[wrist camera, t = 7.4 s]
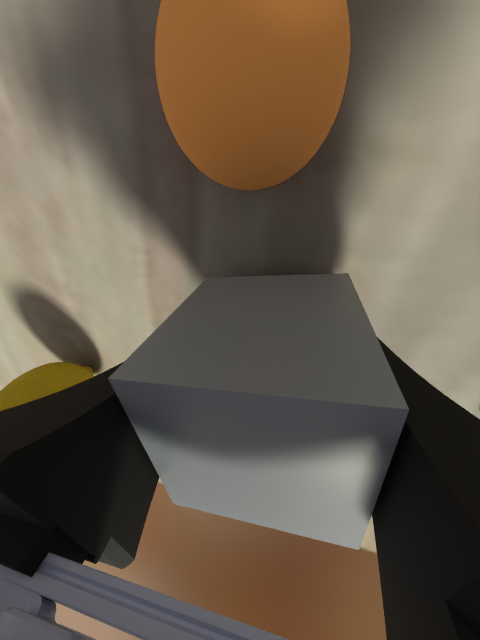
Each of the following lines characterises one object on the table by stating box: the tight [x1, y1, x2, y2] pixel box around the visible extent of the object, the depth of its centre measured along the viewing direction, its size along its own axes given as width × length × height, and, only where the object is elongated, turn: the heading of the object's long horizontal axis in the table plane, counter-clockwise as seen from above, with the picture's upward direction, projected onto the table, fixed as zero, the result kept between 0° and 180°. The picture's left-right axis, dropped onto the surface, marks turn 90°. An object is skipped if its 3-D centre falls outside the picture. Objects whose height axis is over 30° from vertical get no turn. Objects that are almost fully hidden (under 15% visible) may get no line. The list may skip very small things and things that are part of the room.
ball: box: [155, 0, 351, 190], centre depth 6 cm, size 5×5×5 cm
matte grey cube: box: [108, 273, 409, 550], centre depth 9 cm, size 6×6×7 cm
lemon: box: [0, 362, 94, 411], centre depth 17 cm, size 6×6×8 cm
